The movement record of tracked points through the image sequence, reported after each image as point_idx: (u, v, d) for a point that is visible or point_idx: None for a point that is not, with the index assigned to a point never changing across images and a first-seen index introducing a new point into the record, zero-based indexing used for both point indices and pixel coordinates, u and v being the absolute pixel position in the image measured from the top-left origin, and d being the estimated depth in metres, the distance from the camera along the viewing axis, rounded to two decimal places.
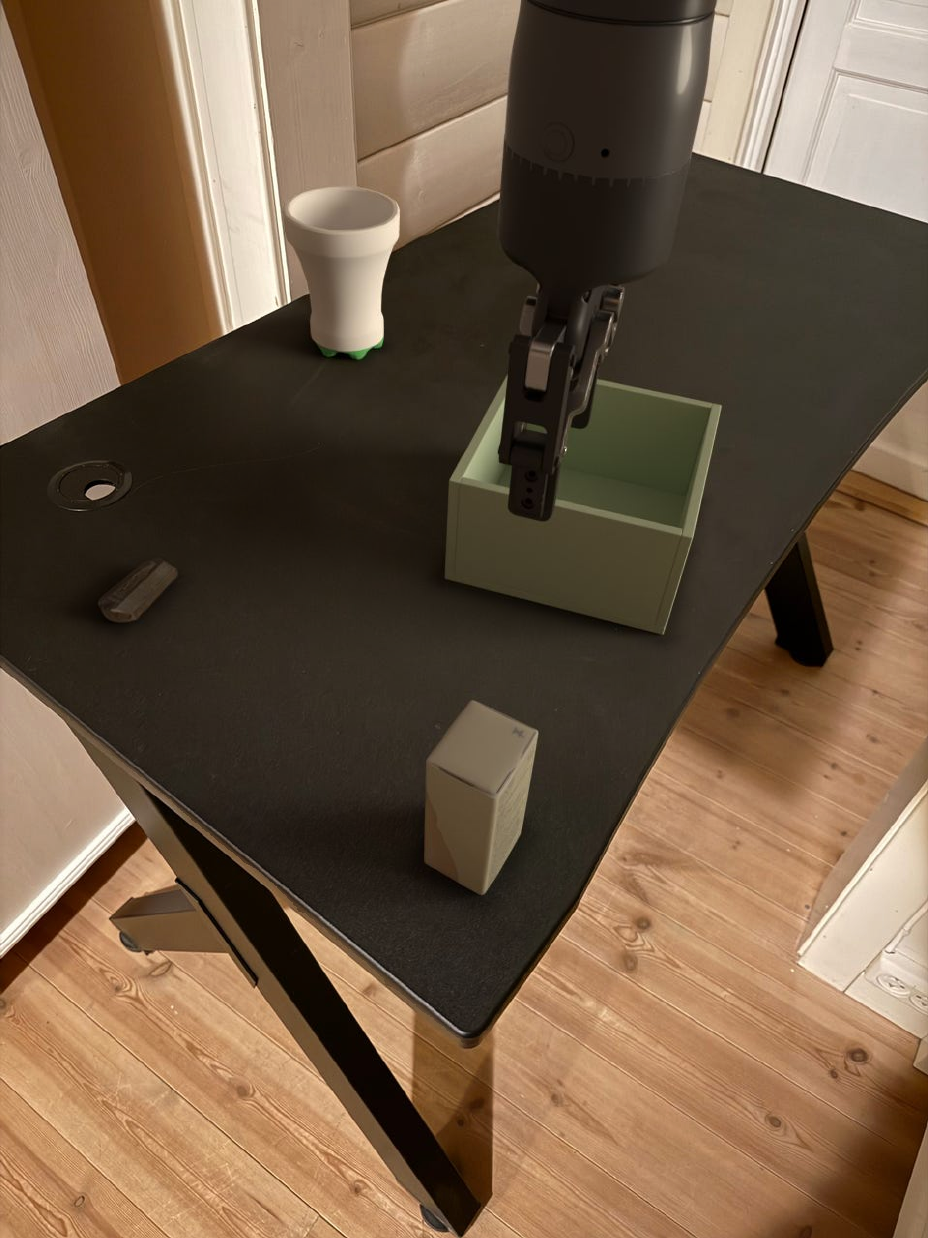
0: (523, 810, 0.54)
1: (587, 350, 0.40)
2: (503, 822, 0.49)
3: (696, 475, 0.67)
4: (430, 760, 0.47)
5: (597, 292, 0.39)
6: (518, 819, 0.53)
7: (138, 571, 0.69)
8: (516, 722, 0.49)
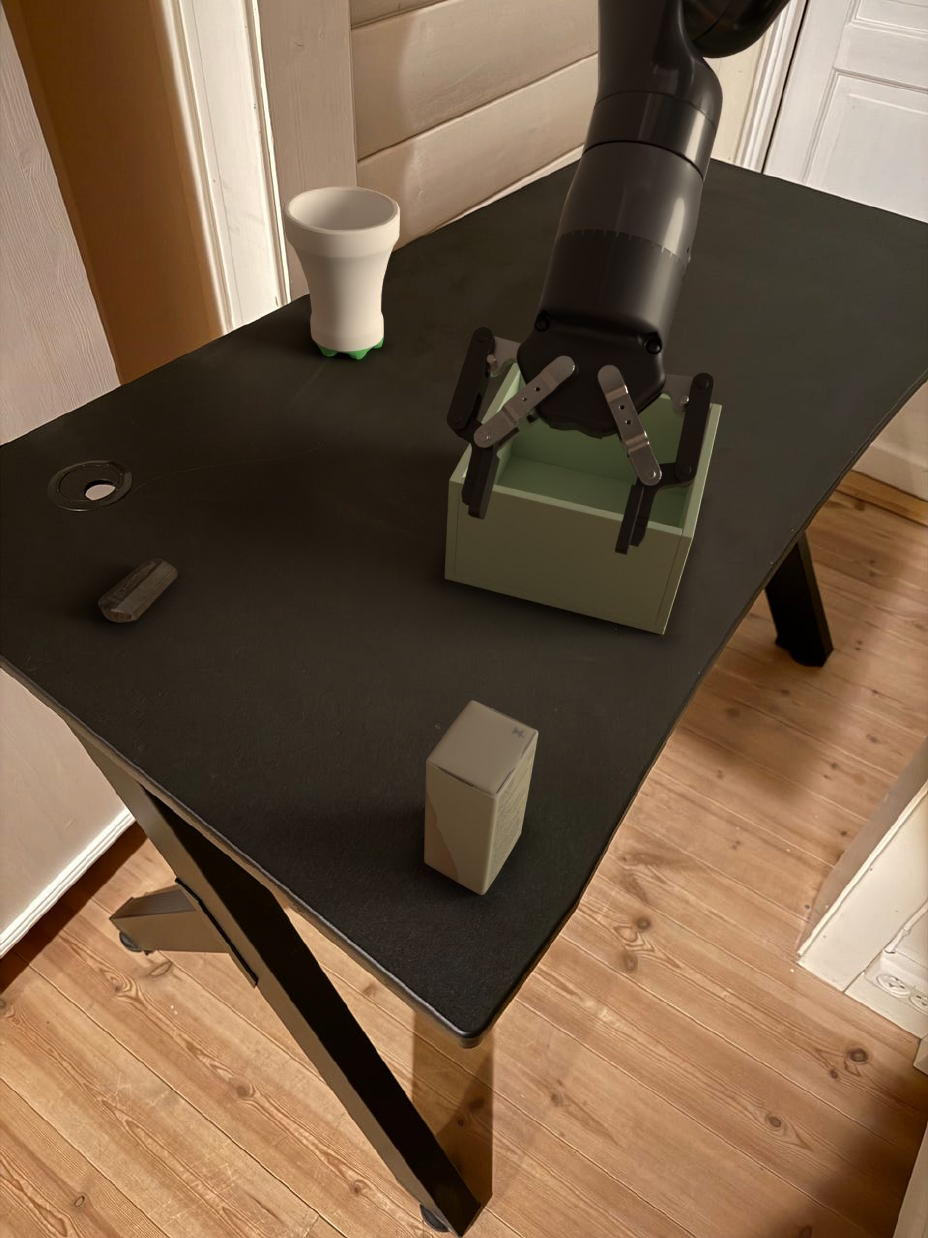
0: (523, 810, 0.54)
1: None
2: (503, 822, 0.49)
3: (696, 475, 0.67)
4: (430, 760, 0.47)
5: (575, 349, 0.50)
6: (518, 819, 0.53)
7: (138, 571, 0.69)
8: (516, 722, 0.49)
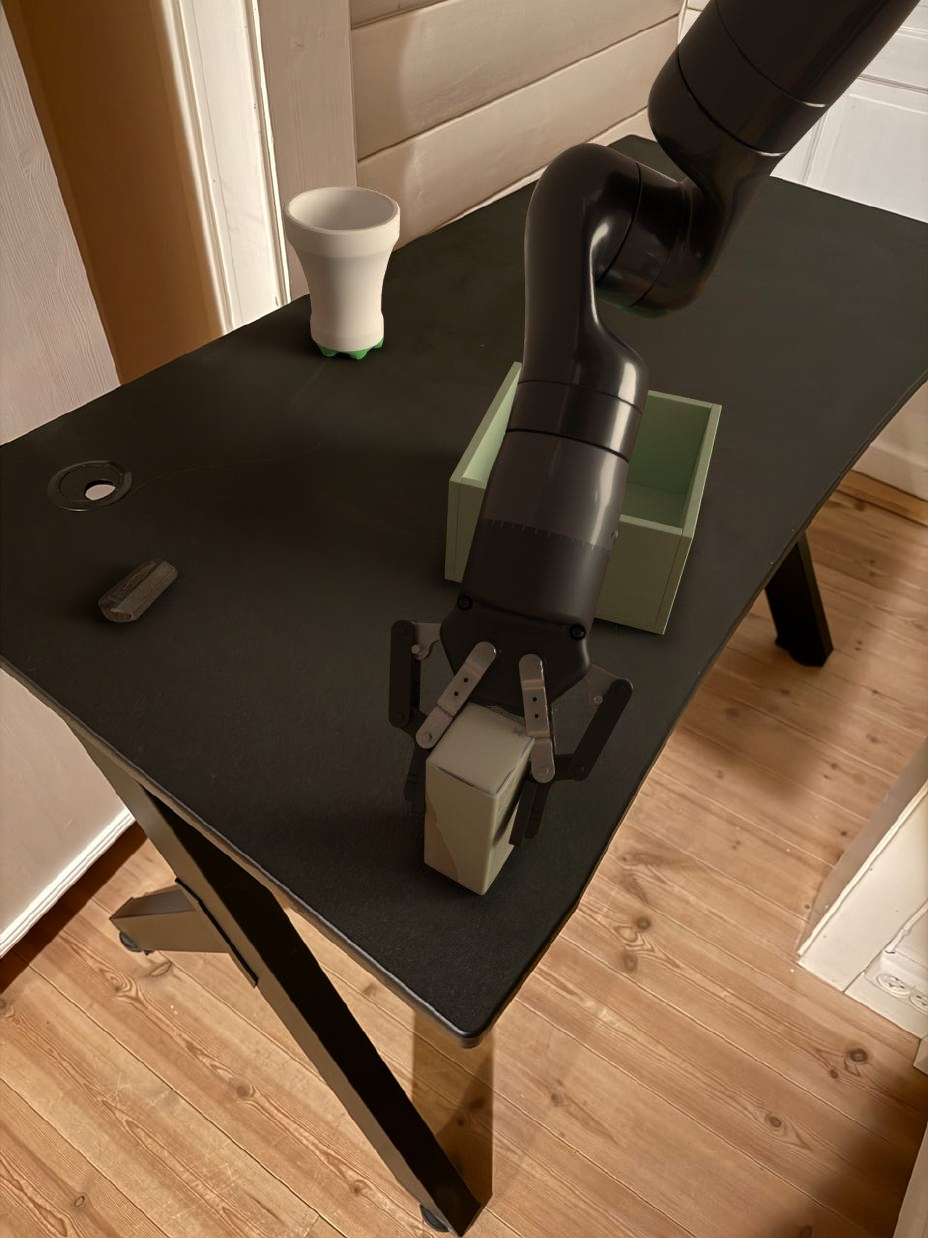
0: None
1: (460, 658, 0.49)
2: (503, 822, 0.49)
3: (696, 475, 0.67)
4: (430, 760, 0.47)
5: (497, 631, 0.49)
6: None
7: (138, 571, 0.69)
8: (516, 722, 0.49)
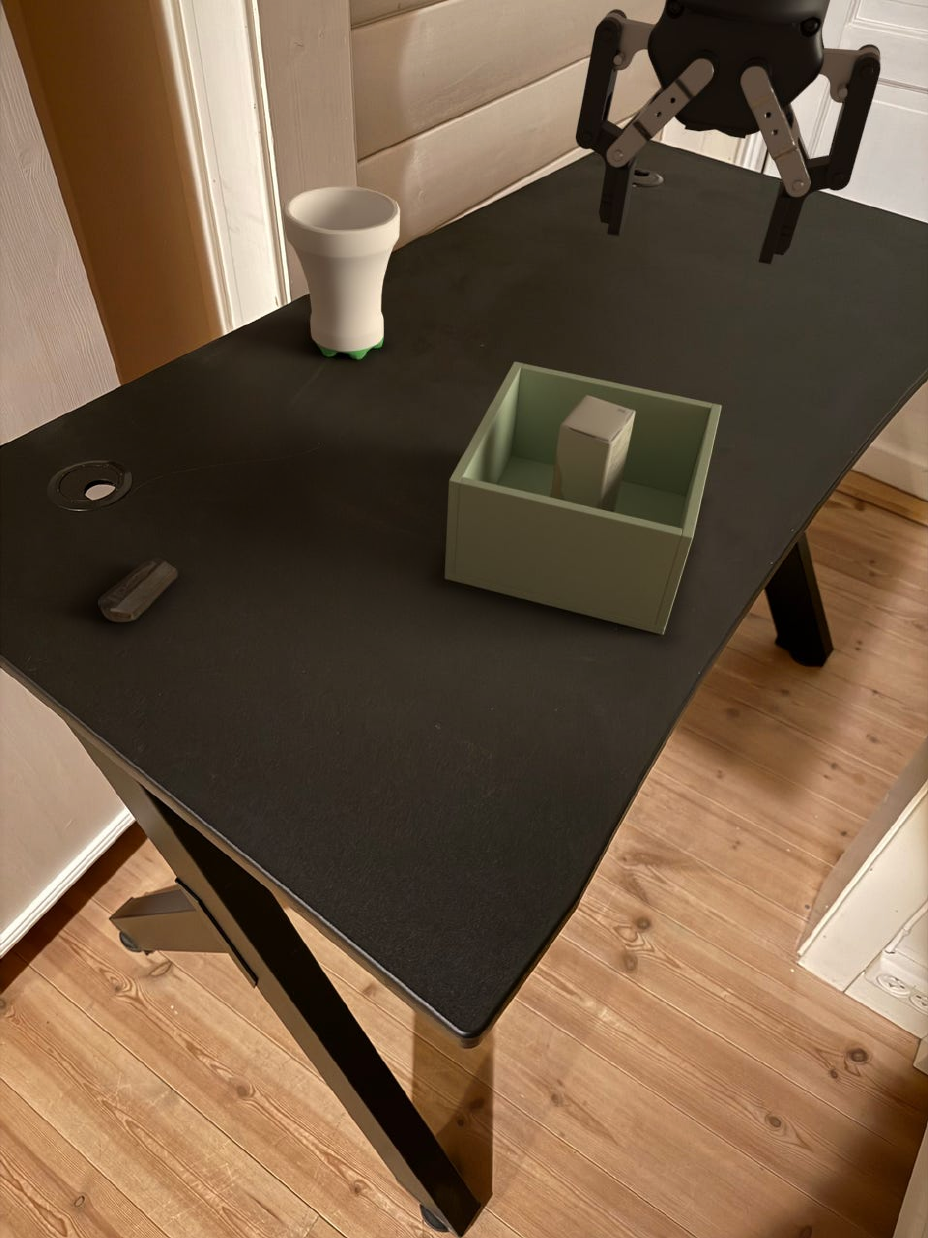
0: (618, 491, 0.74)
1: (673, 79, 0.45)
2: (610, 480, 0.70)
3: (696, 475, 0.67)
4: (563, 424, 0.67)
5: (715, 38, 0.43)
6: (615, 495, 0.74)
7: (138, 571, 0.69)
8: (620, 406, 0.69)
